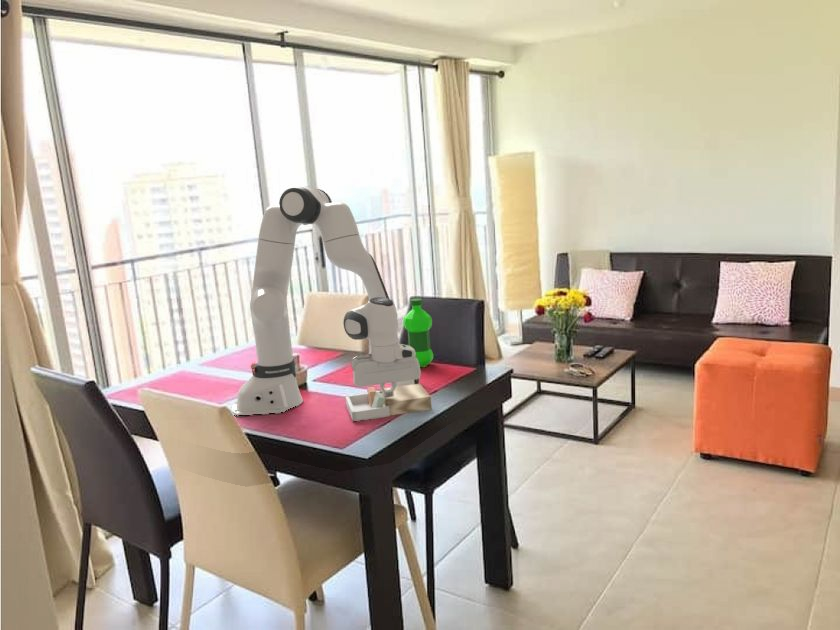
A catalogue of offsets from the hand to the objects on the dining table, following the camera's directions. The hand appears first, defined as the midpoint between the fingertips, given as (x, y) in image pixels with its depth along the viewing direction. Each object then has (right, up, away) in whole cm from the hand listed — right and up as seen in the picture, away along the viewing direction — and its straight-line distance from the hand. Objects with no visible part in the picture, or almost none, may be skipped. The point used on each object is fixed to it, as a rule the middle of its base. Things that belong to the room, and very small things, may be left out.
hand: (388, 396), depth 200 cm
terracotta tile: (-4, -1, +6) cm, 8 cm away
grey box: (-7, -5, +3) cm, 9 cm away
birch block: (+5, -3, +5) cm, 8 cm away
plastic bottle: (+10, +6, +47) cm, 48 cm away
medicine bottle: (+5, 0, +24) cm, 24 cm away
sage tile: (-2, -2, 0) cm, 3 cm away
